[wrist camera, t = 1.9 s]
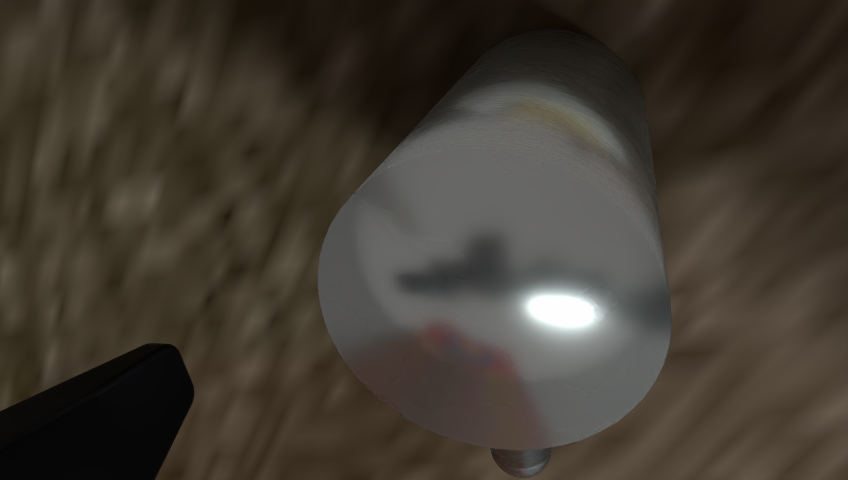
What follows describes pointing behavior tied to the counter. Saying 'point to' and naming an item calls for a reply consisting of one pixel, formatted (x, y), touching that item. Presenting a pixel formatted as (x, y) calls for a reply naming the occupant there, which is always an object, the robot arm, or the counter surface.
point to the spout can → (509, 256)
